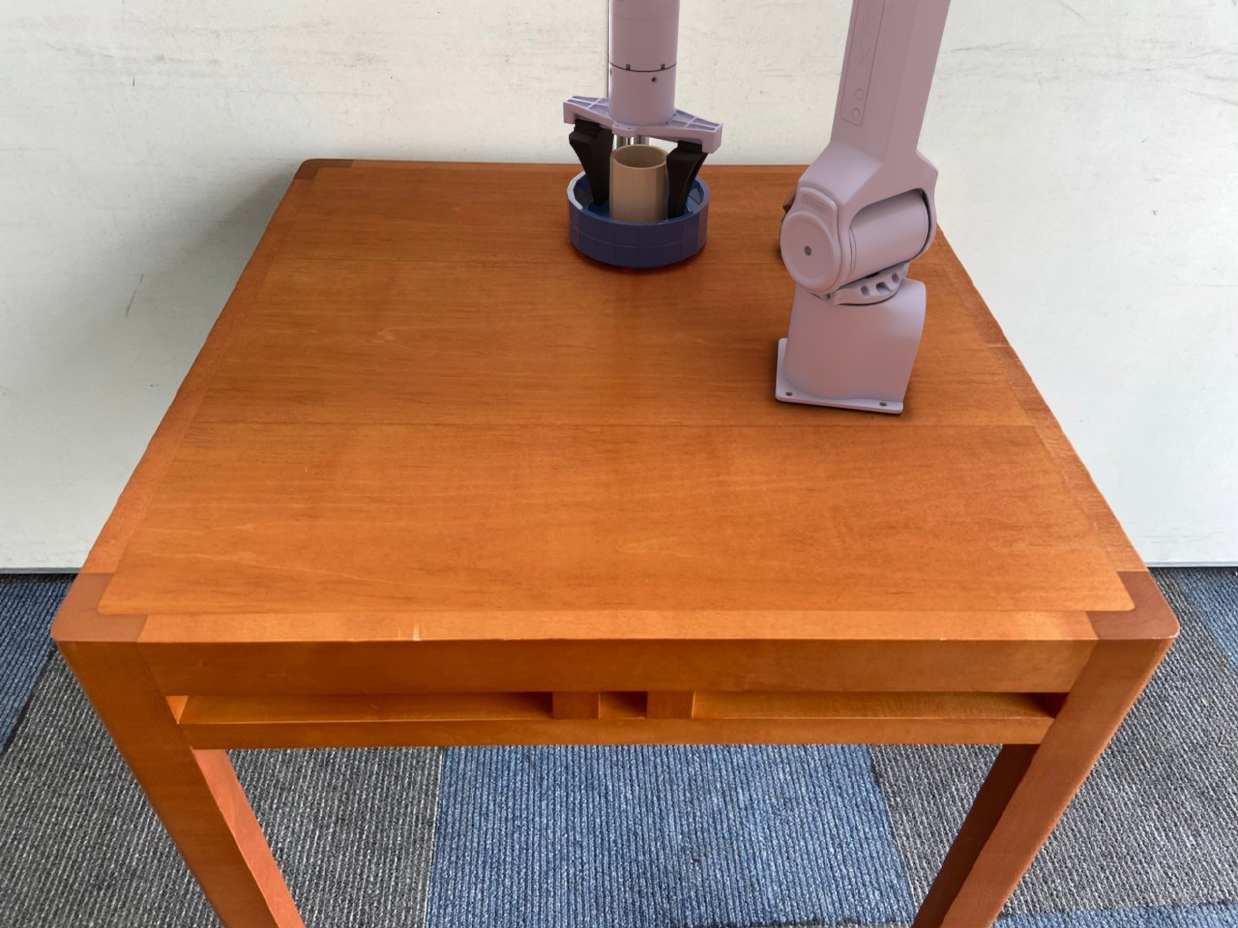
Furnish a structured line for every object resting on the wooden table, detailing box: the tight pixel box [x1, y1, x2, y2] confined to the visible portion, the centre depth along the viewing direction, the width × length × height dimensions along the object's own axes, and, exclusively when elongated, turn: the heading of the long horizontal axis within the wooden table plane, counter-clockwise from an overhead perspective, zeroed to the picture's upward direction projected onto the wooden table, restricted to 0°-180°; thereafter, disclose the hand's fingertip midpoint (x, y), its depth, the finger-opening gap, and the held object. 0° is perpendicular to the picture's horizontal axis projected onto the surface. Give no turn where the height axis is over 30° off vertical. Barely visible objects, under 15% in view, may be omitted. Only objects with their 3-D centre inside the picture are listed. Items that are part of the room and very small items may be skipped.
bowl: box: [566, 170, 712, 269], centre depth 85 cm, size 13×13×5 cm
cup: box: [609, 143, 669, 222], centre depth 84 cm, size 5×5×8 cm
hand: (638, 210), depth 85 cm, fingers open, 7 cm apart
